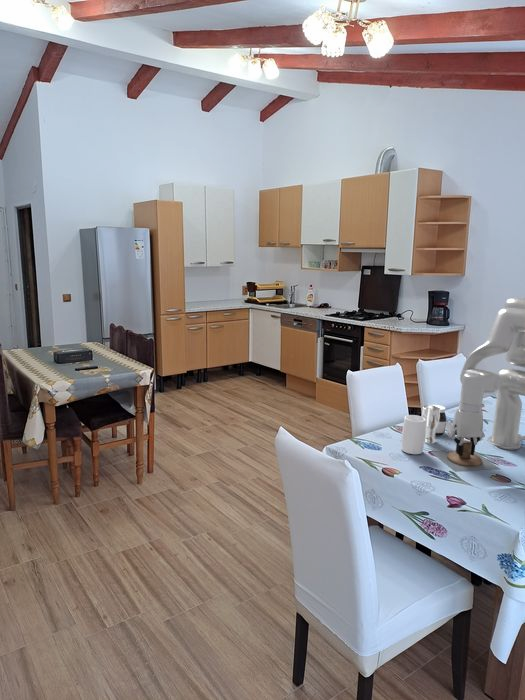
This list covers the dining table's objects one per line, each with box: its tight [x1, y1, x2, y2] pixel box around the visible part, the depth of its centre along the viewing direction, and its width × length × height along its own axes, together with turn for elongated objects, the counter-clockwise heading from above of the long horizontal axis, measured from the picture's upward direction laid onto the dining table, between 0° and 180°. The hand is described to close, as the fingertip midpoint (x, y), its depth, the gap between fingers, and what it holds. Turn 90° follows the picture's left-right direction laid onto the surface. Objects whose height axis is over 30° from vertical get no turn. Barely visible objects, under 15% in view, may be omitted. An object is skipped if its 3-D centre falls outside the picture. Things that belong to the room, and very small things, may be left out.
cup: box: [401, 414, 426, 455], centre depth 198 cm, size 8×8×14 cm
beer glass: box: [421, 404, 440, 444], centre depth 210 cm, size 7×7×15 cm
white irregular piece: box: [433, 404, 453, 437], centre depth 221 cm, size 12×11×12 cm
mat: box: [430, 449, 501, 473], centre depth 193 cm, size 18×18×1 cm
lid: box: [447, 439, 482, 467], centre depth 192 cm, size 12×12×7 cm
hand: (464, 453), depth 192 cm, fingers closed on lid, 4 cm apart
